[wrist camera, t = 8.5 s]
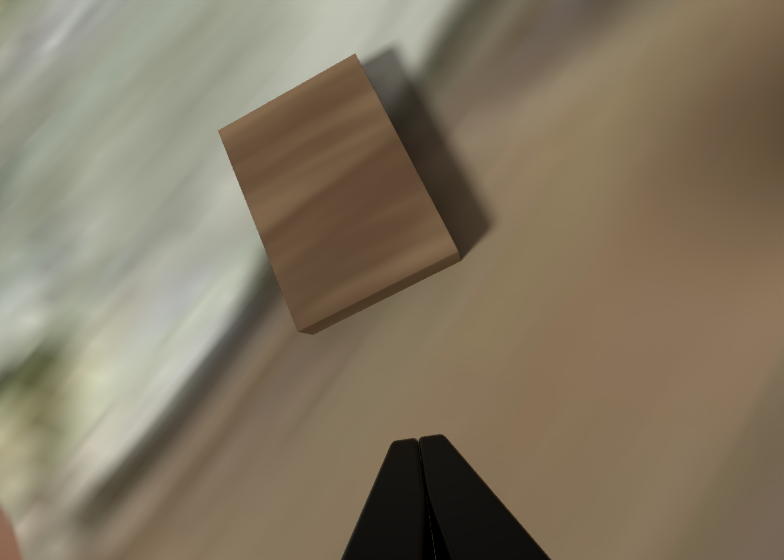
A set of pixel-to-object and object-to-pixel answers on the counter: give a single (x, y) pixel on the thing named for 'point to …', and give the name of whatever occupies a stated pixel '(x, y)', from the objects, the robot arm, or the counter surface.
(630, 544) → the counter surface
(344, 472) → the counter surface
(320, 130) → the walnut tile
